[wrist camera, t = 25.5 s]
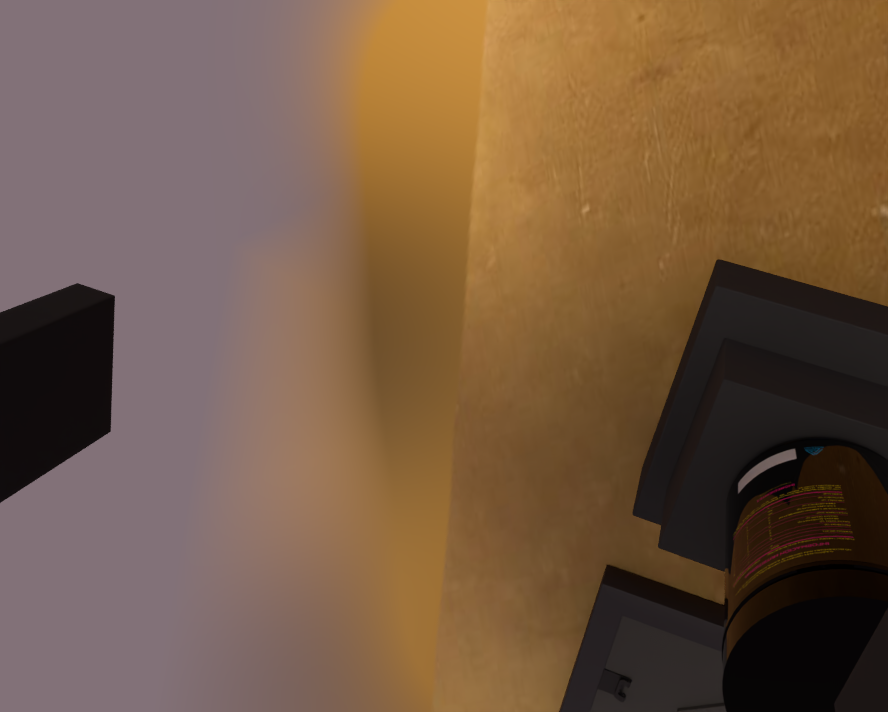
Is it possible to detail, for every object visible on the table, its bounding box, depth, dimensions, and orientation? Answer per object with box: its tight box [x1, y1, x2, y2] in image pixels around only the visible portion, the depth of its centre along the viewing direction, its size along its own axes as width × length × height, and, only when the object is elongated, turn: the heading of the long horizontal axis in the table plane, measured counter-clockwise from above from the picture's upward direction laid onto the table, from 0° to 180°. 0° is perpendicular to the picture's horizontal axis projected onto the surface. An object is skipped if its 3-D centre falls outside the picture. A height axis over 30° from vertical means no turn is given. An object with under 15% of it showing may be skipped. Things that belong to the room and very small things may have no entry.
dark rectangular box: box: [633, 259, 888, 525], centre depth 38 cm, size 12×12×5 cm
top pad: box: [658, 338, 888, 572], centre depth 33 cm, size 10×8×5 cm
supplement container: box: [722, 437, 888, 712], centre depth 26 cm, size 7×7×10 cm
